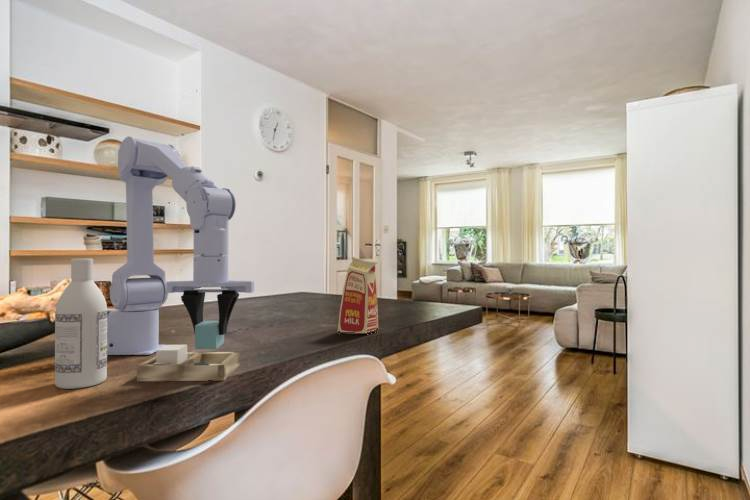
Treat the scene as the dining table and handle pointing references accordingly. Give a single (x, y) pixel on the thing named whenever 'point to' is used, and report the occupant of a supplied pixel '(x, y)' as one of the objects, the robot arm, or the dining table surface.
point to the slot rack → (191, 368)
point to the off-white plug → (172, 354)
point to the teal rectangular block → (208, 335)
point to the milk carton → (359, 298)
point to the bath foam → (81, 330)
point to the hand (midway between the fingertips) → (210, 334)
